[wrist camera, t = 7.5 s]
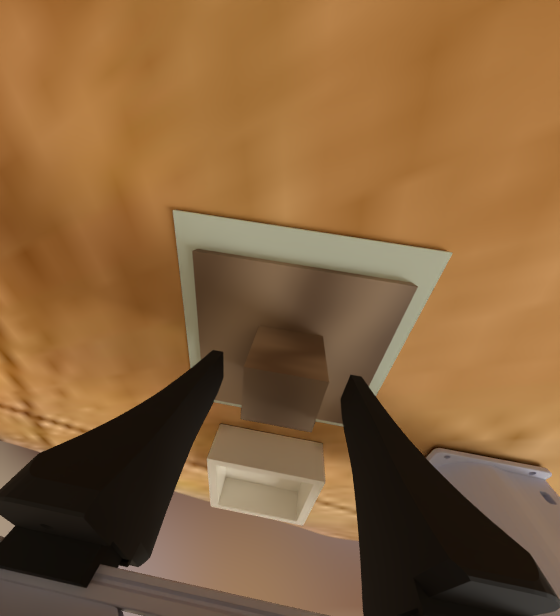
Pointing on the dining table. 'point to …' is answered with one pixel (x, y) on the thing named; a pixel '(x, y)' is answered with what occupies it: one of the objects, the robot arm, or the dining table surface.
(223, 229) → the beige flat square piece
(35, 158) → the dining table surface
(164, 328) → the dining table surface
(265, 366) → the lid
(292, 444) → the white square tray
